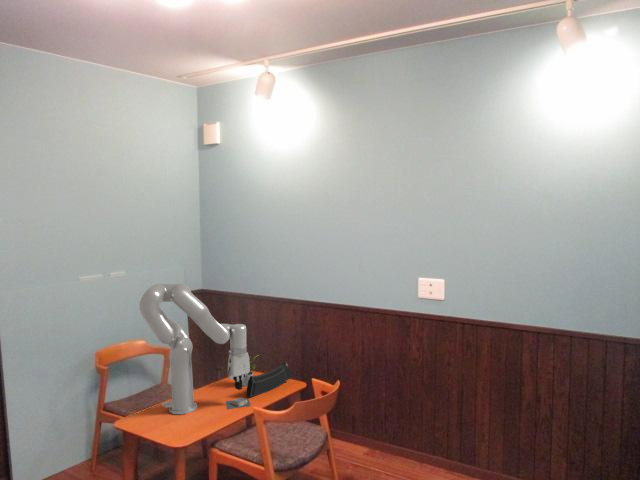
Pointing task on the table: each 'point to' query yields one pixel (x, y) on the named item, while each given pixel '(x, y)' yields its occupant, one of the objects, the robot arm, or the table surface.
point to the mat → (232, 406)
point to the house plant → (246, 378)
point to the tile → (239, 401)
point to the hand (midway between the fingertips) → (238, 388)
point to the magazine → (268, 380)
